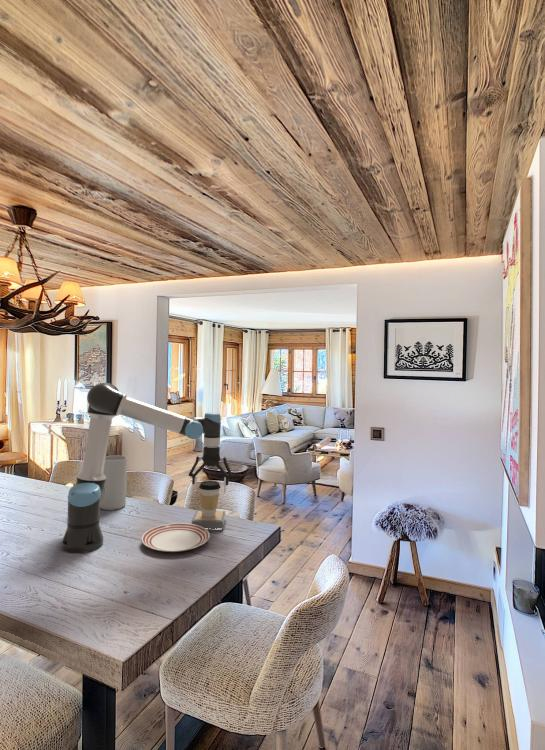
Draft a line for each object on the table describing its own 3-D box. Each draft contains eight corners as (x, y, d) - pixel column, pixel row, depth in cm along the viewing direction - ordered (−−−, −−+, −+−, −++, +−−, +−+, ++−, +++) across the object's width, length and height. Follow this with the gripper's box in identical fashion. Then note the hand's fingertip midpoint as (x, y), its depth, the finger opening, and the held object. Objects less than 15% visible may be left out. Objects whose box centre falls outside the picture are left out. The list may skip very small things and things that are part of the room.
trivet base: (222, 530, 186) (223, 521, 186) (191, 529, 185) (191, 520, 185) (225, 519, 200) (225, 510, 200) (196, 518, 199) (196, 510, 199)
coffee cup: (220, 512, 197) (221, 480, 197) (218, 519, 188) (219, 486, 188) (199, 511, 197) (200, 480, 197) (196, 518, 187) (197, 485, 187)
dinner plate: (211, 555, 161) (212, 546, 161) (138, 559, 155) (138, 550, 155) (207, 529, 187) (207, 521, 187) (144, 531, 181) (144, 524, 181)
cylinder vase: (109, 512, 204) (111, 461, 204) (94, 507, 211) (95, 458, 211) (130, 505, 215) (132, 457, 215) (114, 501, 221) (116, 454, 221)
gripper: (238, 445, 197) (237, 490, 197) (186, 443, 196) (184, 488, 196) (238, 448, 189) (236, 494, 189) (183, 446, 188) (181, 493, 188)
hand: (210, 491), depth 192 cm, fingers open, 13 cm apart
